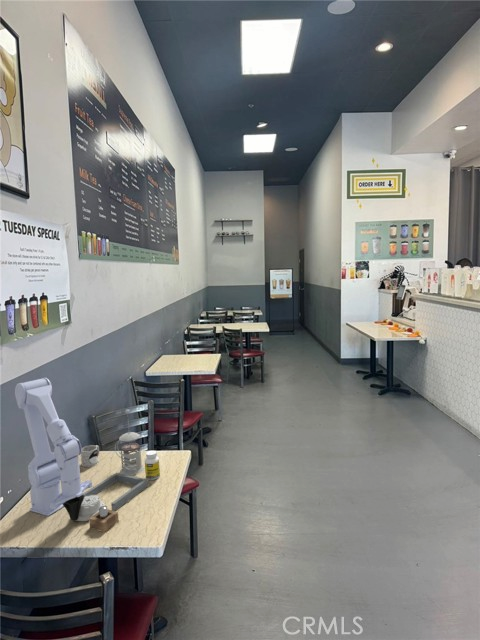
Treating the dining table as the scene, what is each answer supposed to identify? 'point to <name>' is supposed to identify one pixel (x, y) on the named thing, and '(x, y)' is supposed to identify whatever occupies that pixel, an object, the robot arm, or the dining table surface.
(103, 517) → the pin
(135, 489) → the grey u-shaped bracket
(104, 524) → the hollow wooden square
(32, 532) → the dining table surface
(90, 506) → the mechanical component
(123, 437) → the french press
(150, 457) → the supplement bottle
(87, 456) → the mug
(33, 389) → the robot arm
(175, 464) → the dining table surface
